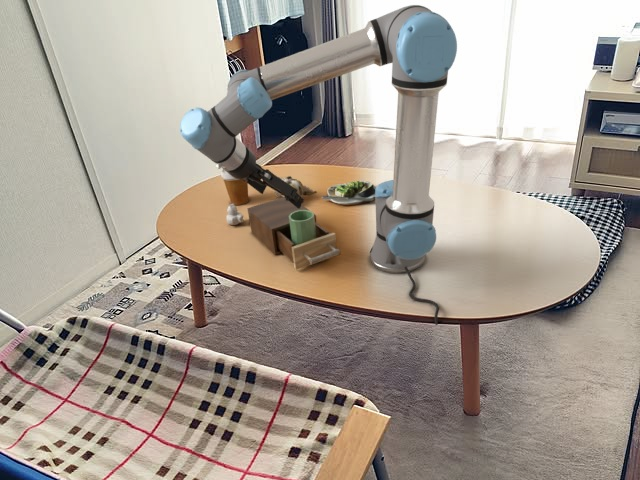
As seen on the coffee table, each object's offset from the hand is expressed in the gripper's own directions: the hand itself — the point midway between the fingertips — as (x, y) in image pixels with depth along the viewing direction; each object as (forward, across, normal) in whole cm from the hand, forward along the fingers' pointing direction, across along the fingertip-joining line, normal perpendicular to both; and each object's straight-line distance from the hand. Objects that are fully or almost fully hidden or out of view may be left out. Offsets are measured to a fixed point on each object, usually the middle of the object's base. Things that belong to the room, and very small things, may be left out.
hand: (282, 196), depth 149 cm
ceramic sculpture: (+41, -30, +9) cm, 52 cm away
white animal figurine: (+25, -33, -9) cm, 43 cm away
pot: (+20, 0, -8) cm, 21 cm away
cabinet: (+25, -13, -6) cm, 29 cm away
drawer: (+20, +2, -9) cm, 22 cm away
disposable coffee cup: (+34, -46, 0) cm, 57 cm away
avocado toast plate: (+49, -13, +19) cm, 54 cm away
